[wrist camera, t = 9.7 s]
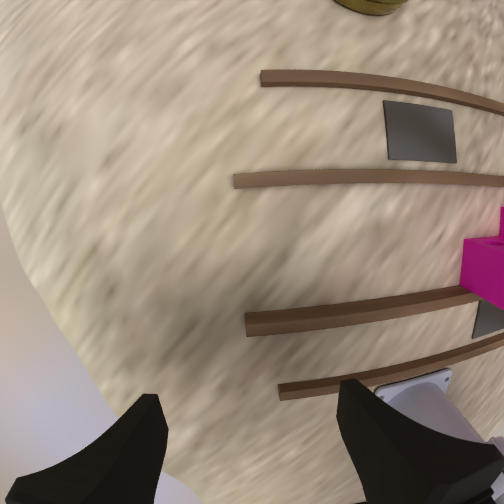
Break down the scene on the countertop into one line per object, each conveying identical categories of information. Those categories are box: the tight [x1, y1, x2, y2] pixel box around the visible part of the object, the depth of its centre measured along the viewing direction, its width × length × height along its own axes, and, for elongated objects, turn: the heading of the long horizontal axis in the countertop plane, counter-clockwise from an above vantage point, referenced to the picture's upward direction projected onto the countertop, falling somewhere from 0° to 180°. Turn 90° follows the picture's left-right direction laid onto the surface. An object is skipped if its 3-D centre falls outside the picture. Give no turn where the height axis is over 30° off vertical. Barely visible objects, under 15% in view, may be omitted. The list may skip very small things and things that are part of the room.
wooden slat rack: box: [233, 70, 504, 401], centre depth 18 cm, size 22×33×4 cm
